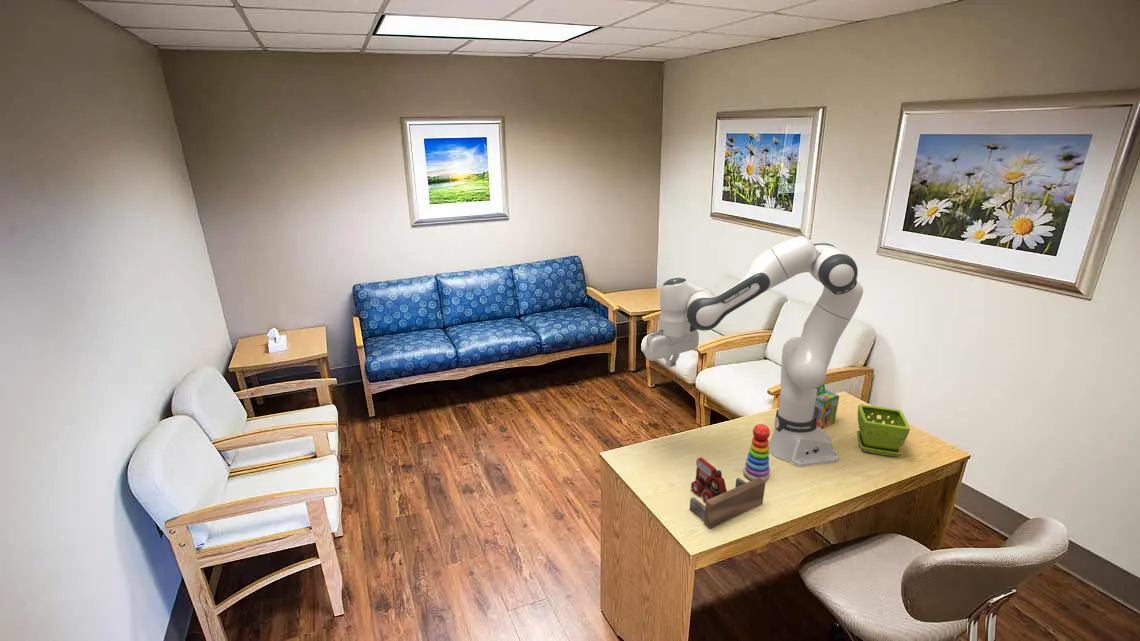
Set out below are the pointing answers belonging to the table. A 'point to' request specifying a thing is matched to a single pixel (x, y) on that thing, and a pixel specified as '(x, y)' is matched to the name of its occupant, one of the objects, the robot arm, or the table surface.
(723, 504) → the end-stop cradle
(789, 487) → the table surface
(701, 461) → the toy fire truck
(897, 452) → the flower pot
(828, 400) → the chalk box
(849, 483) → the table surface
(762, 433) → the stacking toy
